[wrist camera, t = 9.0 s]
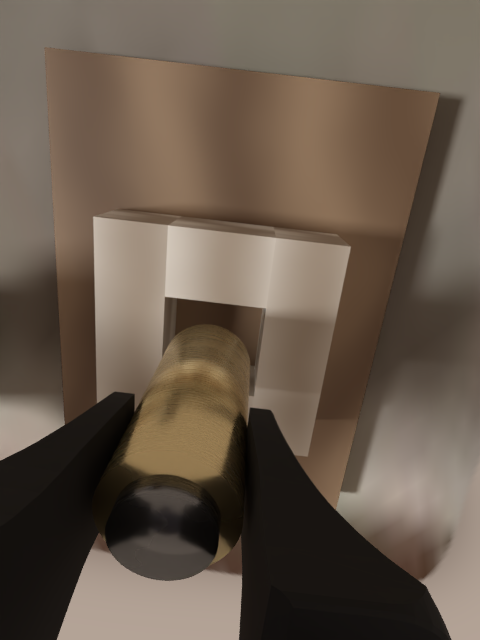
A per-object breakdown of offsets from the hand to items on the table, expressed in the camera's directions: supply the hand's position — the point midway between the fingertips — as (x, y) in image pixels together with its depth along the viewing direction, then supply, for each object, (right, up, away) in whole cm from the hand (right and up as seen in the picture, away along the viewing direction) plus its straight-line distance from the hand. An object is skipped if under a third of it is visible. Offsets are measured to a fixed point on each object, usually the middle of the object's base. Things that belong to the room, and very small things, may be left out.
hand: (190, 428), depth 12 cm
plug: (0, +2, +4) cm, 4 cm away
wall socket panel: (0, +4, +10) cm, 10 cm away
